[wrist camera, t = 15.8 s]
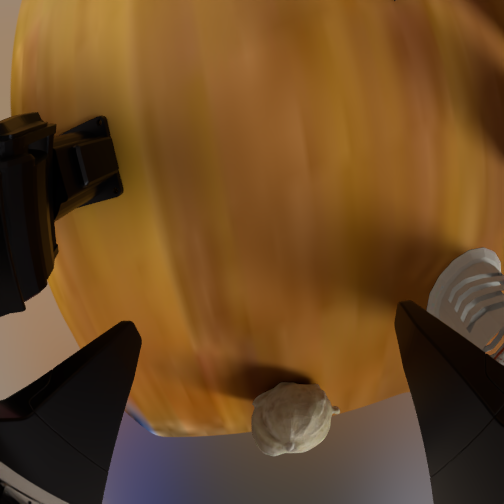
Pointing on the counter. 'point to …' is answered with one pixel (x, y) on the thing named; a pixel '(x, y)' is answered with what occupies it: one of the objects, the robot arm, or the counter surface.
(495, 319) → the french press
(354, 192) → the counter surface
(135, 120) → the counter surface
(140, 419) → the counter surface
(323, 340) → the counter surface
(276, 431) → the garlic bulb
